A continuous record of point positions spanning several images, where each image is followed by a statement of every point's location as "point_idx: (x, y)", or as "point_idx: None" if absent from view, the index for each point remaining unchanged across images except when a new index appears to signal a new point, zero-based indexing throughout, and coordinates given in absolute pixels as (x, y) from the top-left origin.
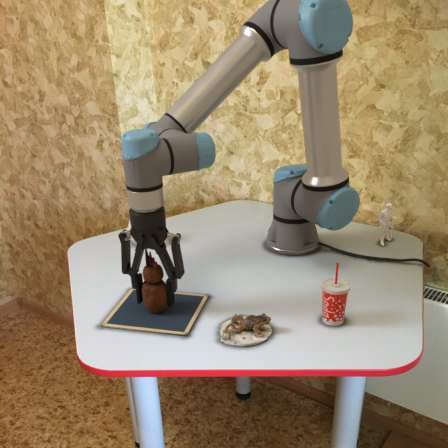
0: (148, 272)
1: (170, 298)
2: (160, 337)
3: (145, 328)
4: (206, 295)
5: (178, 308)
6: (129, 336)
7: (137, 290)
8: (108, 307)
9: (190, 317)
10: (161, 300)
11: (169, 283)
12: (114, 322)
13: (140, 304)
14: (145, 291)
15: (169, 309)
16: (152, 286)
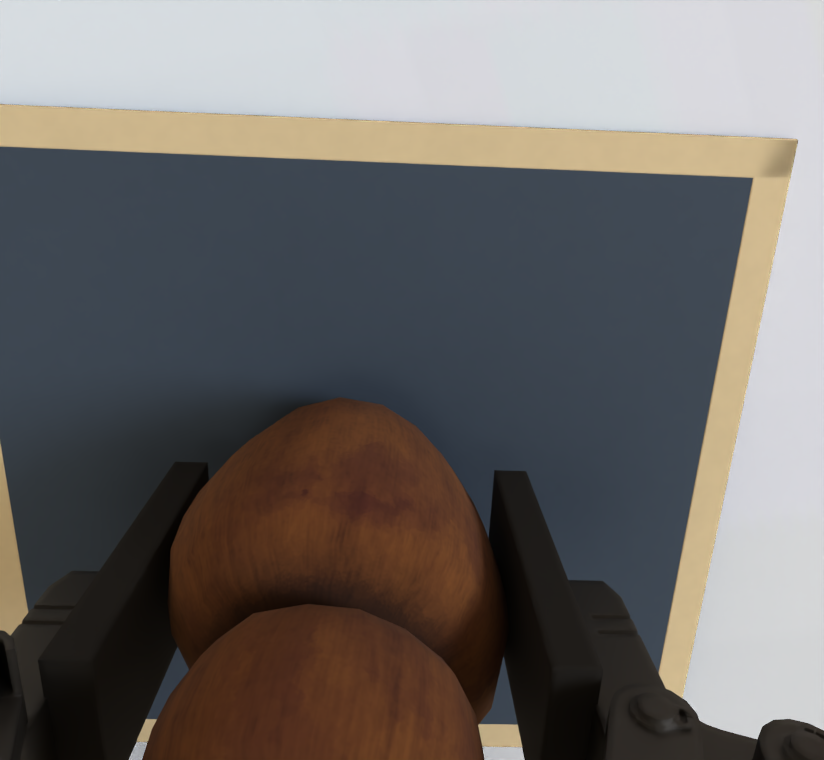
0: (325, 750)
1: (143, 510)
2: (157, 41)
3: (344, 148)
4: None
5: None
6: (464, 8)
7: (536, 552)
8: (794, 465)
9: (9, 401)
10: (229, 461)
11: (58, 642)
12: (676, 209)
13: None
14: (408, 507)
15: None
16: (302, 564)
